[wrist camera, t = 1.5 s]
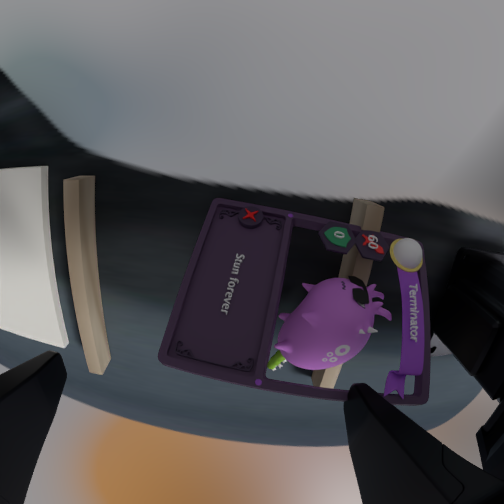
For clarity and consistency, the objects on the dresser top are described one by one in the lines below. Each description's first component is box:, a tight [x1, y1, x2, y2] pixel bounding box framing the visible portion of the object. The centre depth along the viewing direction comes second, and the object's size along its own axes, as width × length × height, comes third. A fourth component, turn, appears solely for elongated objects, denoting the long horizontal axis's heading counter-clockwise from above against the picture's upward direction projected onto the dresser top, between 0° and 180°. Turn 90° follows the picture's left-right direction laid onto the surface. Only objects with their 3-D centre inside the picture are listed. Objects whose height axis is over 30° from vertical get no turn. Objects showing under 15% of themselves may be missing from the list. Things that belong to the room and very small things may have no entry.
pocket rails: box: [63, 176, 385, 389], centre depth 13 cm, size 13×10×2 cm
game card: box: [158, 198, 431, 406], centre depth 11 cm, size 7×5×9 cm
